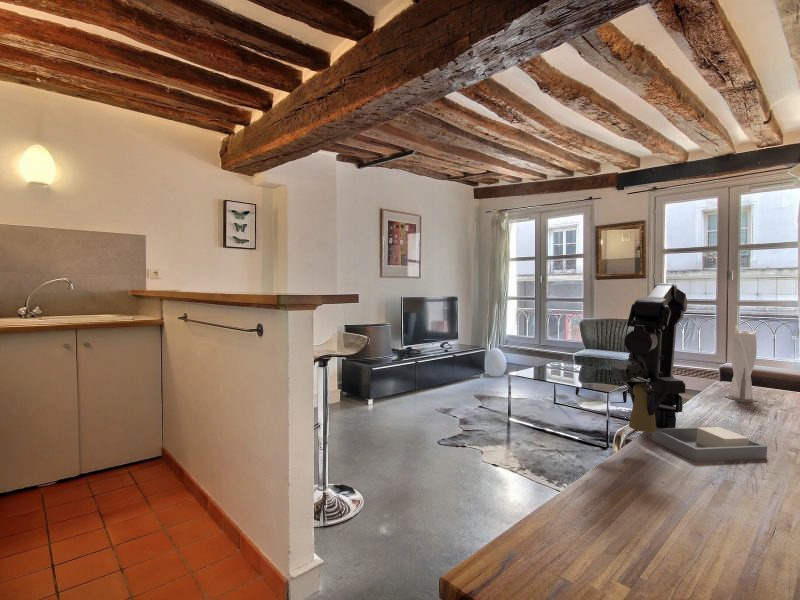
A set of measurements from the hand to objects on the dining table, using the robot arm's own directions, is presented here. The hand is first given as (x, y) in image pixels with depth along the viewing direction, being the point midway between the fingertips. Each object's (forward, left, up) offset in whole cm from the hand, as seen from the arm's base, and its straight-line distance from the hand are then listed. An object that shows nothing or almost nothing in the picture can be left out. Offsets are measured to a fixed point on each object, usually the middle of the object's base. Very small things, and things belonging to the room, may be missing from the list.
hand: (643, 412), depth 107 cm
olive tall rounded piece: (0, 0, -4) cm, 4 cm away
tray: (+1, +18, -11) cm, 21 cm away
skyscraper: (-44, +79, -11) cm, 91 cm away
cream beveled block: (+1, +22, -10) cm, 24 cm away
